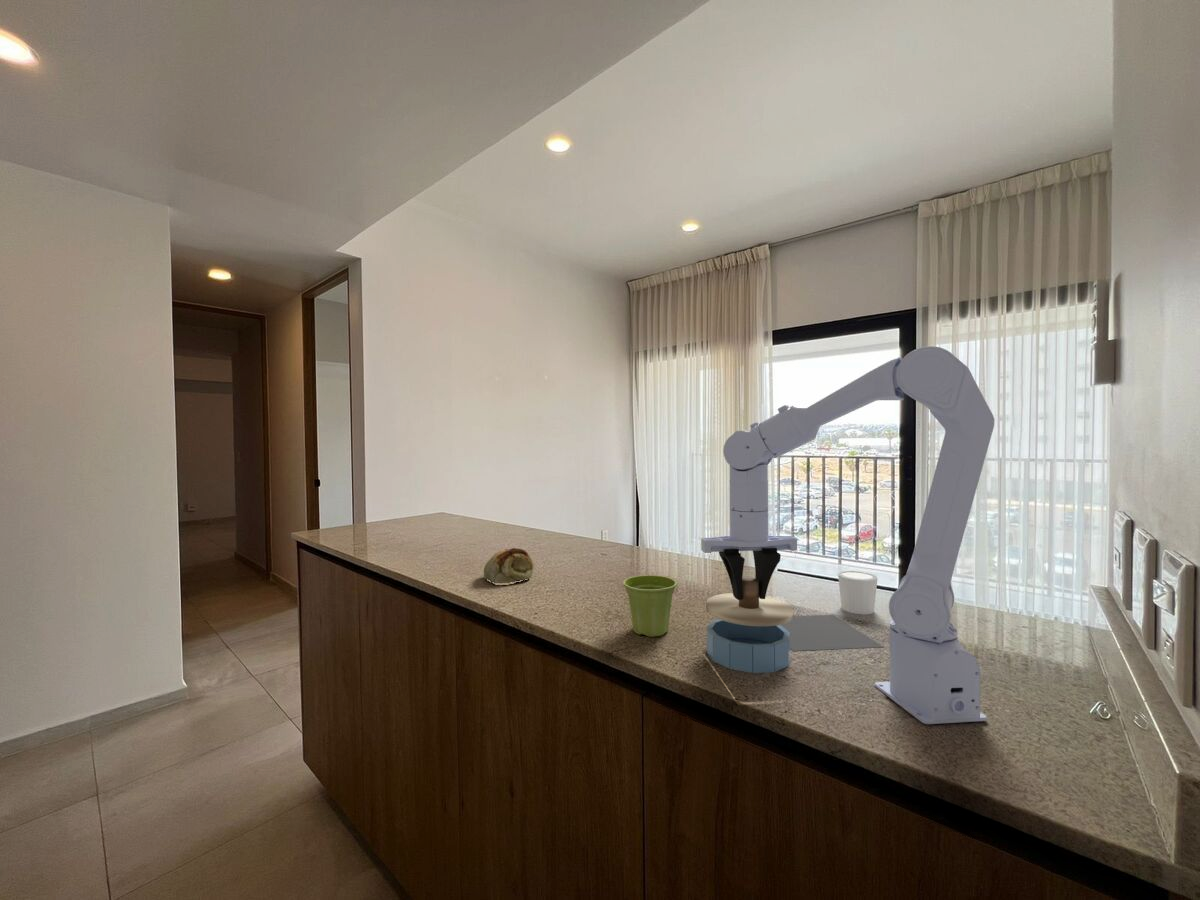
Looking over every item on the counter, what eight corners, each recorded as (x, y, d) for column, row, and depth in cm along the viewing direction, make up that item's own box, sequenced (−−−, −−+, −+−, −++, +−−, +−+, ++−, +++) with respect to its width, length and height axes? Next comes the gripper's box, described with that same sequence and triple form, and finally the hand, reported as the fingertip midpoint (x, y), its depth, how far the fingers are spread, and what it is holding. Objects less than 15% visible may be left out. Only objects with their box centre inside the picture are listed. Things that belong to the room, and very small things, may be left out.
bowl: (804, 672, 71) (804, 644, 71) (722, 676, 70) (722, 647, 70) (769, 639, 83) (769, 615, 83) (698, 642, 82) (698, 618, 82)
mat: (884, 648, 79) (884, 646, 79) (793, 652, 78) (793, 650, 78) (832, 616, 94) (832, 614, 94) (755, 619, 93) (755, 617, 93)
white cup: (882, 617, 93) (882, 580, 93) (843, 615, 95) (843, 578, 95) (870, 606, 100) (870, 571, 100) (833, 604, 101) (833, 569, 101)
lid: (809, 625, 71) (809, 591, 71) (718, 627, 71) (718, 593, 70) (774, 596, 84) (774, 568, 84) (697, 598, 84) (697, 569, 83)
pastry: (514, 589, 114) (513, 554, 114) (470, 583, 120) (470, 550, 120) (545, 574, 127) (545, 543, 127) (505, 569, 132) (504, 539, 132)
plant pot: (634, 644, 82) (633, 591, 82) (616, 624, 91) (616, 577, 91) (686, 637, 85) (685, 586, 84) (664, 619, 94) (664, 573, 94)
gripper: (782, 505, 81) (783, 588, 82) (695, 507, 80) (696, 591, 80) (803, 511, 74) (804, 602, 75) (708, 513, 73) (709, 605, 73)
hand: (749, 597), depth 77 cm, fingers closed on lid, 3 cm apart
